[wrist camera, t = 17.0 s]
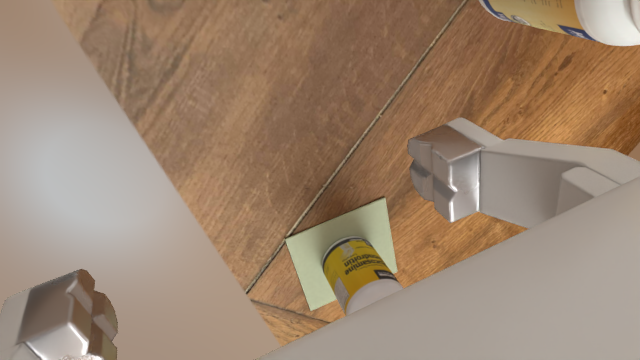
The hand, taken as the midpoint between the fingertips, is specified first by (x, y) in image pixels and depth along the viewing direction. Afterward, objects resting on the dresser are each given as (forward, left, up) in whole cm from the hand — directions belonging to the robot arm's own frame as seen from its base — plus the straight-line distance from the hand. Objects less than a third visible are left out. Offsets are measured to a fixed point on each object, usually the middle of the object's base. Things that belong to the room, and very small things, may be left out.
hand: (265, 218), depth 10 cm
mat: (+8, -29, -27) cm, 40 cm away
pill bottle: (+8, -29, -27) cm, 40 cm away
